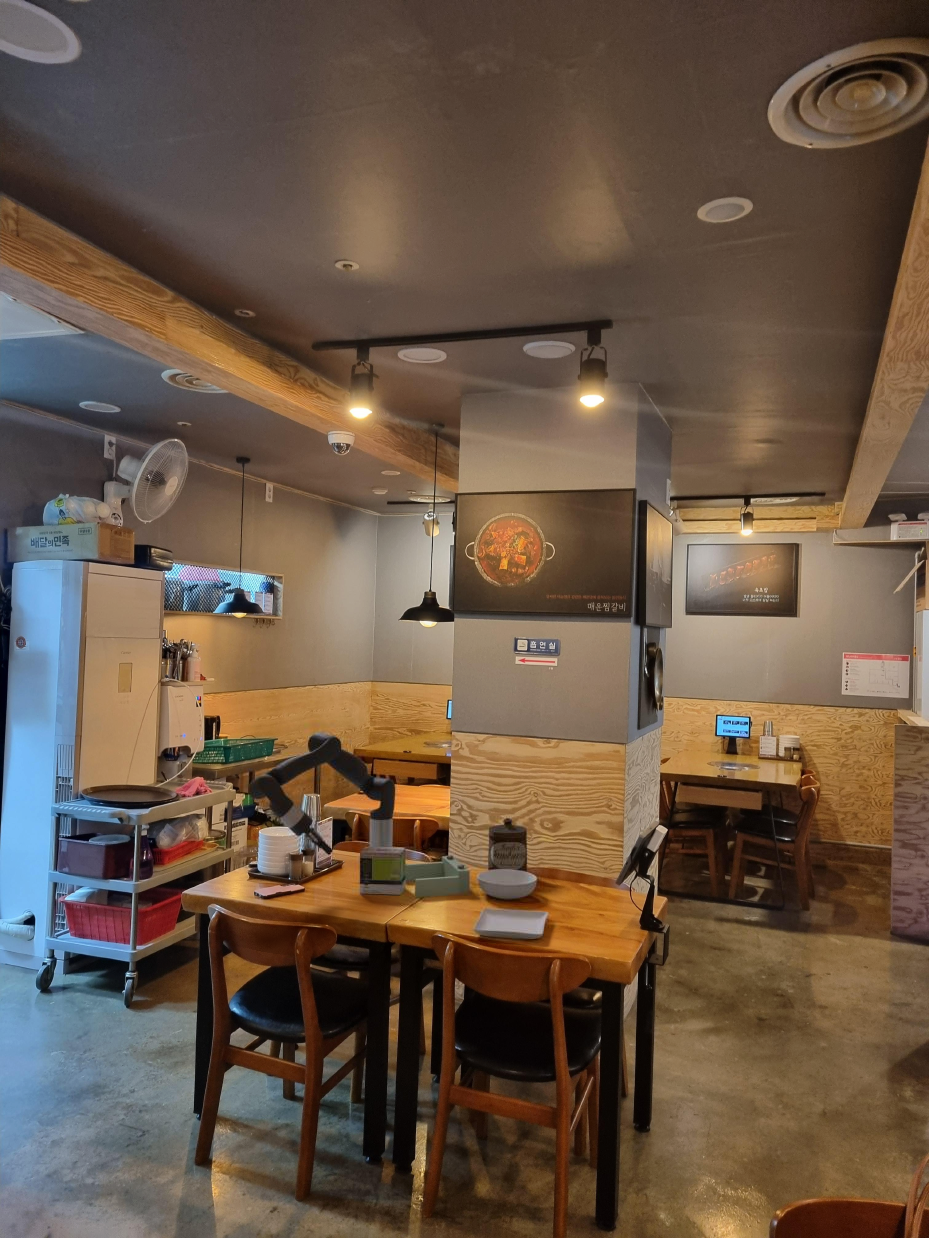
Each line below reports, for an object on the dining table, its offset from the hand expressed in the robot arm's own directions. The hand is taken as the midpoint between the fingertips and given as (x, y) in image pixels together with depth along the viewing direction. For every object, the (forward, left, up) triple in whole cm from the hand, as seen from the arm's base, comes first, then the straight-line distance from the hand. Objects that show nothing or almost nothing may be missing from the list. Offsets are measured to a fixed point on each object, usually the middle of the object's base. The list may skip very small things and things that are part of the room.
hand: (330, 852), depth 298 cm
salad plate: (+51, +49, -15) cm, 72 cm away
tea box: (0, +19, -15) cm, 24 cm away
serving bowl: (+17, +60, -15) cm, 64 cm away
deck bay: (0, +38, -15) cm, 41 cm away
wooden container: (-7, +69, -15) cm, 71 cm away
